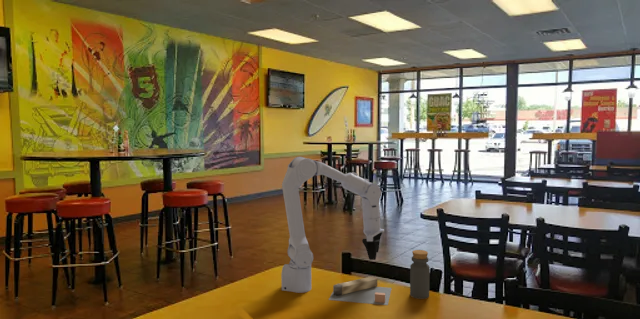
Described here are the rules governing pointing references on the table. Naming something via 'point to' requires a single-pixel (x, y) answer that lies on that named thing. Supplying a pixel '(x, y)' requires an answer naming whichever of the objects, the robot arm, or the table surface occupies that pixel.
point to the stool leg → (354, 285)
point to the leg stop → (380, 297)
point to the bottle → (419, 275)
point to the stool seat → (364, 296)
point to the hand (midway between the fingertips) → (373, 255)
